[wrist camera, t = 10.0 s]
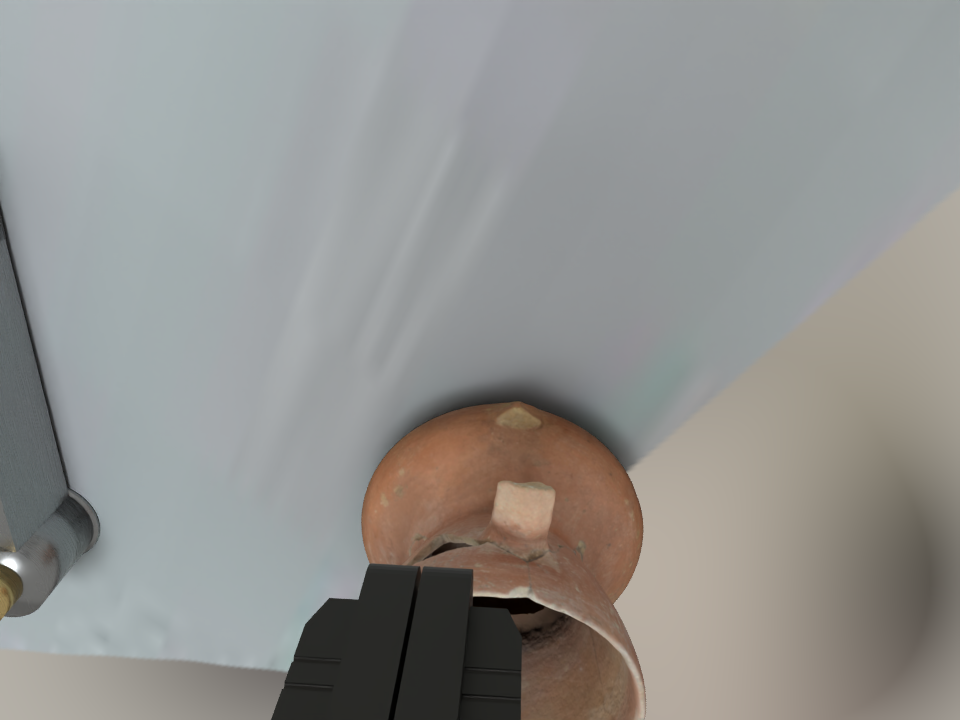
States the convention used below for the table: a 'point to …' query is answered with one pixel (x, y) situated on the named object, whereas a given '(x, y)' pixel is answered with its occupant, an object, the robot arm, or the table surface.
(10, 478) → the bar
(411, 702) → the robot arm
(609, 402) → the table surface
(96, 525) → the tong base
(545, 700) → the ceramic jug
